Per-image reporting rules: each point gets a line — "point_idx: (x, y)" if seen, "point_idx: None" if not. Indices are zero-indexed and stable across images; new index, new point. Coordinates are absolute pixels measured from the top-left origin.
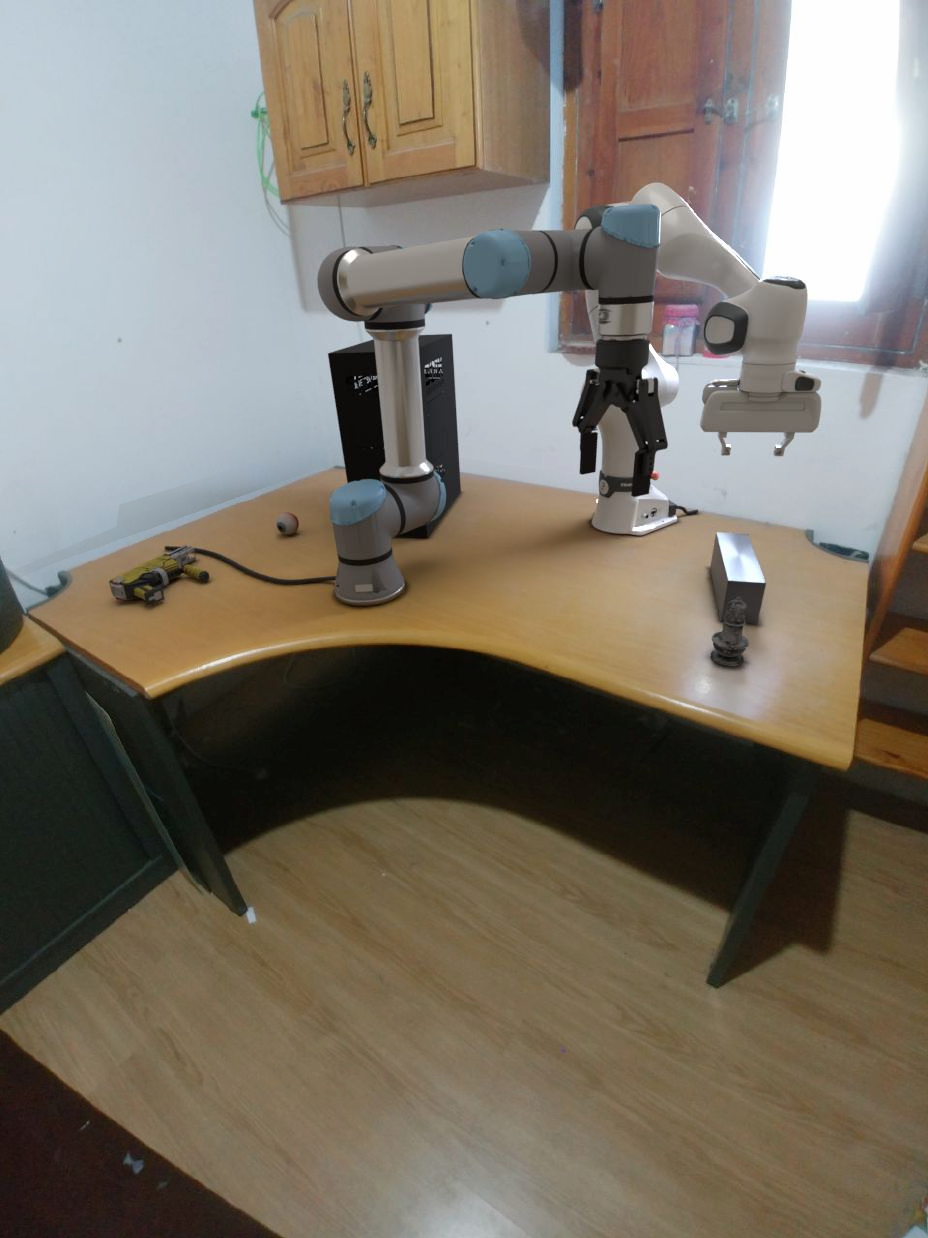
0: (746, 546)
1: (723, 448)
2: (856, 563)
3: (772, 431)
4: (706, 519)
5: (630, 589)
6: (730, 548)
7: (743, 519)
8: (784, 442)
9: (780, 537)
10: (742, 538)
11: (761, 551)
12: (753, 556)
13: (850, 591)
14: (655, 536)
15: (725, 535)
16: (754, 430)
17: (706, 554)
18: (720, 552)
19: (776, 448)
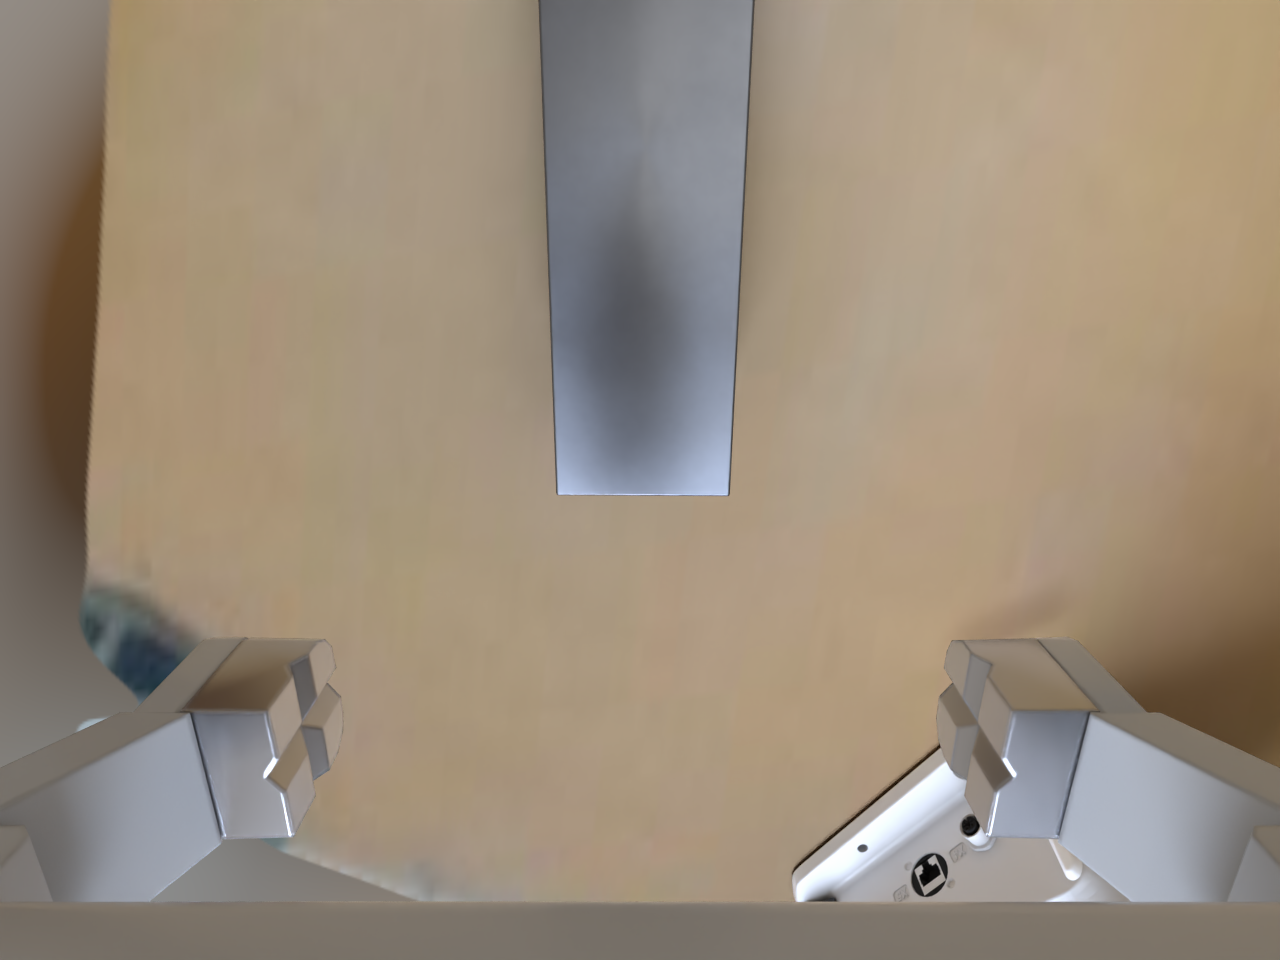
0: (586, 297)
1: (1120, 689)
2: (97, 562)
3: (253, 906)
4: None
5: (1127, 131)
6: (682, 253)
7: None
8: (111, 795)
9: (384, 771)
10: (595, 419)
11: (471, 630)
12: (562, 139)
13: (124, 274)
14: (906, 726)
15: (684, 452)
16: (730, 922)
17: (707, 572)
18: (743, 204)
19: (276, 697)
